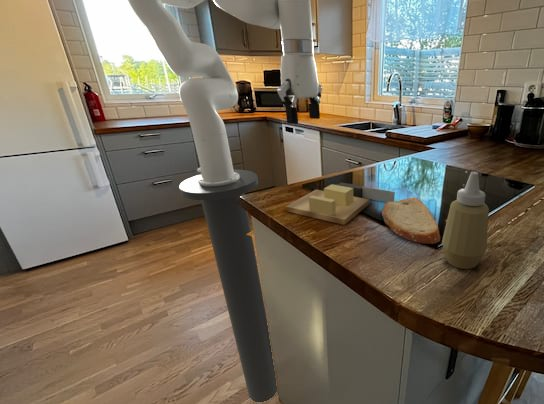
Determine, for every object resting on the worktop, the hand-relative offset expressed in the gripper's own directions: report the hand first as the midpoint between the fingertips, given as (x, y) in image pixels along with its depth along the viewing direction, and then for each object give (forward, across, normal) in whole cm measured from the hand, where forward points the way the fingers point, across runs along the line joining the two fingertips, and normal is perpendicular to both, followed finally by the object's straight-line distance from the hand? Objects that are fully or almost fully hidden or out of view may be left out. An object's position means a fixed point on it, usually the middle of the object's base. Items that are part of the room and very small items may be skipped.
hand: (304, 120), depth 80 cm
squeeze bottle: (+22, +14, +46) cm, 53 cm away
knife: (+22, -7, +15) cm, 28 cm away
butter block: (+21, +2, +11) cm, 24 cm away
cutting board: (+22, +4, +9) cm, 24 cm away
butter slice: (+21, +10, +11) cm, 25 cm away
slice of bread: (+22, +2, +32) cm, 39 cm away
